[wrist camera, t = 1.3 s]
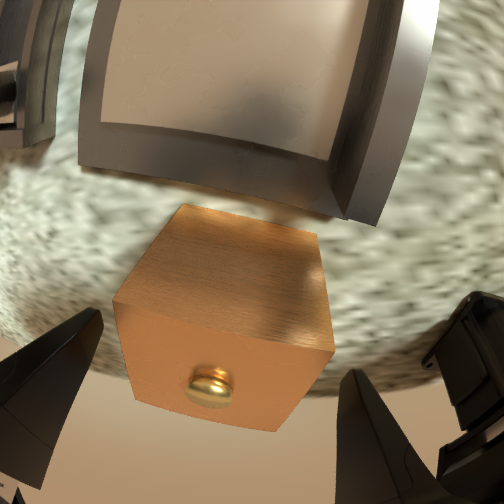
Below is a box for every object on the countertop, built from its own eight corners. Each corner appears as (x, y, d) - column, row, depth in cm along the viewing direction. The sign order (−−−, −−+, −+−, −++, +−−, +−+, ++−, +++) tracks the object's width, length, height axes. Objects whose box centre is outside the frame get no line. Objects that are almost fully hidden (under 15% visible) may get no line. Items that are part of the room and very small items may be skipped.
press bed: (408, -46, 4) (441, -74, 2) (343, 211, 11) (362, 256, 8) (140, -78, 4) (105, -104, 1) (88, 159, 10) (40, 185, 8)
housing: (316, 233, 11) (336, 364, 6) (280, 324, 14) (274, 440, 9) (184, 202, 11) (104, 311, 6) (177, 300, 14) (132, 407, 9)
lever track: (99, -67, 4) (74, -80, 2) (55, 135, 10) (22, 148, 8) (41, -43, 4) (15, -48, 2) (8, 135, 10) (-21, 147, 8)
